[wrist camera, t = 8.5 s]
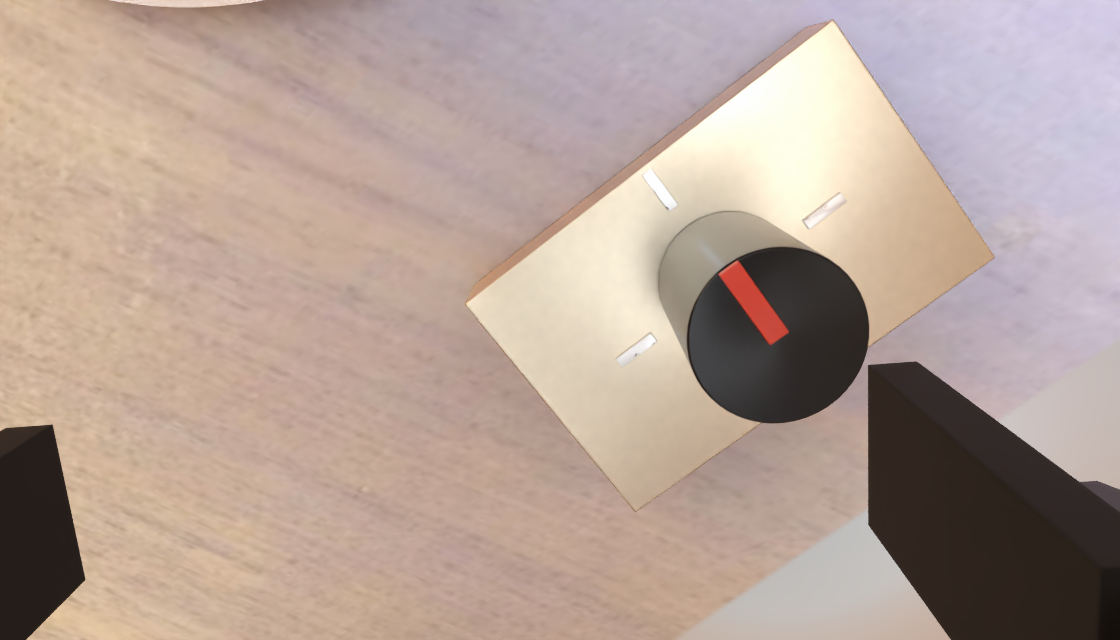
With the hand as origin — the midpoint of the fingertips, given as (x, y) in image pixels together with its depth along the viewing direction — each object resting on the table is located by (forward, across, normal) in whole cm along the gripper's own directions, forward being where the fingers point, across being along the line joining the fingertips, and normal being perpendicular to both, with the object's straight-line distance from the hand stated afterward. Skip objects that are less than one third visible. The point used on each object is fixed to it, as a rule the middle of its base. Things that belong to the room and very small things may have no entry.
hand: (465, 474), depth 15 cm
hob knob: (+15, +7, 0) cm, 16 cm away
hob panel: (+18, +7, 0) cm, 19 cm away
